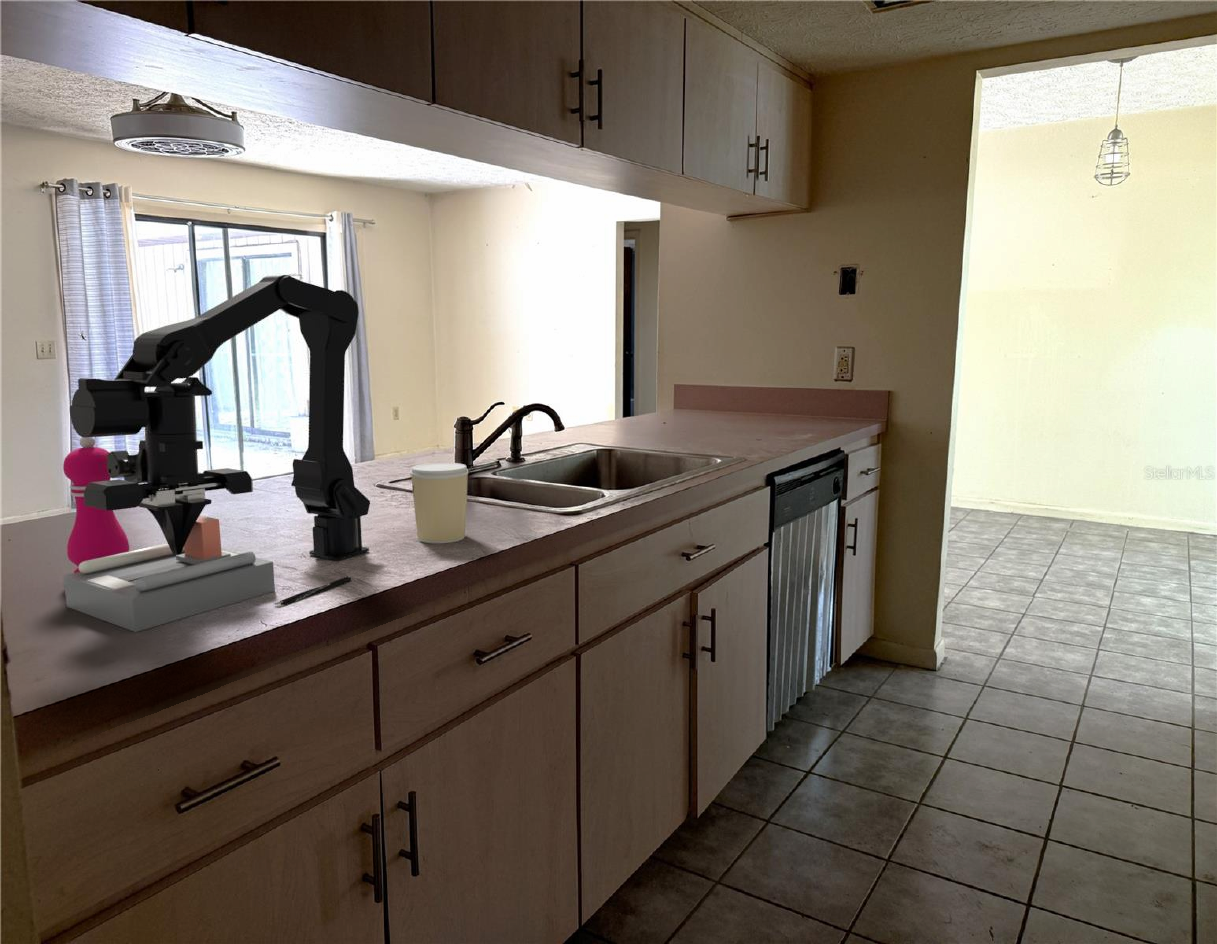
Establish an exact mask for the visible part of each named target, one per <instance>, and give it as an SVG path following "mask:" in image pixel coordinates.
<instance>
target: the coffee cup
mask: <svg viewBox="0 0 1217 944" xmlns="http://www.w3.org/2000/svg"><path fill="white" fill-rule="evenodd" d="M409 472H410V477H411V485H412V486H411V487H412V497H413V498H412V499H413V506H414V507H413V508H414V516H415V525H416V526H415V527H416V533H417V534H416V535H417V539H418V541H419V542H423V543H426V544H427V543H428V544H450V543H455V542H458V541H461V540H463V539H464V538H465V536H466V528H467V527H466V525H467V506H468V505H467V499H468V497H467V496H468V475H469V469H468V468H467V465H466V464H465V463H464V464H463V463H459V462H429V463H420V464H417V465H414V466H412V467H411V470H410V471H409Z"/></svg>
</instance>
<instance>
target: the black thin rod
mask: <svg viewBox="0 0 1217 944" xmlns="http://www.w3.org/2000/svg"><path fill="white" fill-rule="evenodd" d="M351 582H352V577H351V576H350V577H349V576H345V577H342V578H340V579H337V580H333V581H331V582H329V583H326V584H324V585H321V586H317V587H314V588H310V589H307V590H305V591H302V592H299V593H297V594H293V595H291V596H289V597H286V598H284V599H280V600H279V601H278V602H274V605H275V608H281V607H283V606H288V605H291V604H292V603H296V602H297V601H300V600H303V599H306V598H309V597H312V596H315V595H318V594H321V593H324V592H327V591H329V590H332V589H334V588H336V587H339V586H342V585H345V584H348V583H351Z"/></svg>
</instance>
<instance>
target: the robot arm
mask: <svg viewBox="0 0 1217 944" xmlns="http://www.w3.org/2000/svg"><path fill="white" fill-rule="evenodd" d="M279 310H280V311H282V312H284V313H285V314H287V315H289V316H291V317H294V318H296V319H298V323H299V324H298V325H299V330H300V334H301V335H302V337H303V339H304V342H305V344H306V345H307V347H308V349H309V381H308V382H309V389H308V390H309V391H308V392H309V395H308V440H307V441H308V443H307V444H308V445H307V449H306V451H305V452H304V454H303V456H302V458H301V459H300V458H299V459H297V458H294V459H293V461H292V472H293V478H292V481H291V484H290V486H291V487H294V490H295V495H296V497H297V499H299V501H301V502H302V503H303V506H304V508H305V511H306V513H307V514H309V515H311V514H312V515H314V516H313V523H314V526H312V542H313V543H312V544H313V549H312V550H309V555H312V556H316V557H321V558H323V559H328V560H329V559H330V560H334V561H337V560H338V561H339V560H341V559H346V558H349V557H352V556H357V555H360V554H364V553H367V552H370V548H369V547H366V546H363V543H362V542H363V541H362V523H361V522H362V521H361V517H364V516H367V515H369V514H368V513H369V509H370V505H371V500H369V498H368V497H367V496H365V495H364V494H363V493H362V492H361V491H360V490H359V489H358V488H357V487H356V486H355V479H354V470H353V469H354V468H353V467H352V464H351V462H350V460H349V458H348V456H347V454H346V452H345V449H344V428H345V427H344V422H345V421H344V419H345V417H344V415H345V412H344V411H345V378H346V377H345V376H346V375H345V374H346V373H345V367H346V366H345V365H346V352H347V350H348V348H349V346H350V344H351V343H352V341H353V339H354V338H355V336H356V332H357V327H358V325H357V324H358V321H359V313H360V312H359V311H360V310H359V304H358V302H357V300H355V298H354V297H353V295H351V294H350V293H349V292H348V291H346V290H342V289H340V290H339V289H337V290H333V289H329V288H326V287H323V286H319V285H317V284H316V285H315V284H312V283H309V282H305V281H303V280H300V279H298V278H295V277H294V276H291V275H289V274H277V275H266V276H264V277H262V279H261V280H260V281H258V282H257V283H255V284H253V285H252V286H251V285H250V287H247V288H246V289H244V290H243V291H241V292H239V293H236V294H235V295H234V296H232V297H230V298H228V299H226V300H225V301H223V302H221V303H219V304H217V305H216V306H213V307H212V308H210V309H208V310H206V311H205V312H203V313H201V314H200V315H198V316H196V317H194V318H190V319H188V320H184V321H179V322H175V323H171V324H169V325H168V324H167V325H163V326H161V327H158V328H155V329H152V330H148V331H145V332H144V333H141V334H140V335H139V336H137V337H136V339H135V340H134V341H133V347H132V354H131V356H130V357H129V358H128V359H127V361H126V363H125V364H124V366H123V367H122V368H121V370H120V371H119V372H118V374H117V375H116V376H115V378H114V379H102V378H91V377H79V378H78V379H77V384H78V385H77V387H78V388H77V389H76V391H74V394H73V396H72V400H71V405H70V406H69V415H70V421H71V424H72V426H73V430H74V431H75V432H76V434H77V435H78V436H80V437H81V438H82V437H83V438H87V437H93V438H97V437H98V438H100V437H116V436H117V437H118V436H135V435H137V434H139V433H140V432H141V430H142V429H143V428H144V439H140V440H139V443H138V452H137V454H136V453H135V454H130V453H129V452H128V451H127V450H124V449H123V450H116V451H114V450H112V451H109V452H110V453H108V454H107V469H108V473H109V476H110V477H111V479H110V480H108V481H98V482H90V483H89V484H88V486H87V487H86V489H85V491H84V504H85V506H90V507H94V508H98V509H103V510H113V511H117V510H126V509H135V508H137V507H138V508H143V509H147V511H148V512H149V513H150V514H152V516H153V518H154V519H155V521H156V522H157V524H158V526H159V527H160V529H161V531H162V533H163V536H164V538H165V541H166V542H167V543H168V545H169V547H170V549H171V551H172V553H173V554H174V555H180V554H181V552H182V550H183V548H184V545H185V543H186V541H187V539H188V537H189V534H190V532H191V530H192V528H193V526H194V524H195V522H196V521H197V519H198V517H199V516H200V515H201V513H202V512H203V510H204V509H205V507H206V506H207V505H211V504H212V499H209V498H206V492H208V491H217V490H222V489H223V490H226V491H227V492H229V493H230V494H231V495H240V494H241V495H242V494H247V493H253V492H254V489H253V486H254V485H253V484H254V483H253V478H252V476H251V475H250V473H249V472H248V471H247V470H241V469H235V468H234V469H233V468H228V467H227V468H217V469H208V470H203V472H199V460H198V450H203V449H204V441H203V440H198V439H197V433H198V432H197V417H196V416H197V411H196V397H203V396H204V397H206V396H207V397H208V396H212V394H213V391H212V389H210V388H209V387H207V385H204V383H202V381H200V379H199V377H196V376H194V375H195V374H196V373H197V372H199V371H200V370H201V369H202V368H203V367H204V366H206V364H208V363H209V362H210V361H211V360H212V359H213V357H214V356H215V353H217V351H218V349H219V348H220V347H221V346H222V345H223V344H224V343H226V342H227V341H229V340H231V339H233V338H234V337H236V336H238V335H240V334H241V333H243V332H244V331H246V330H247V329H249V328H251V327H253V326H254V325H257V324H258V323H260V322H261V321H263V320H265V319H266V318H268V317H270V316H271V315H273V314H274V313H276V312H277V311H279ZM177 379H179V380H180V379H184V380H182V382H174V381H176V380H177ZM146 388H154V390H150V391H146ZM120 478H121V479H120ZM122 478H123V479H122ZM167 543H166V544H167Z"/></svg>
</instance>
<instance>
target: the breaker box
mask: <svg viewBox="0 0 1217 944" xmlns="http://www.w3.org/2000/svg"><path fill="white" fill-rule="evenodd" d="M221 552H225V553H229V554H231V556H230V557H225V558H221V559H217V560H213V561H209V562H205V563H201V564H197V565H193V564H189V563H186V562H182V561H178V560H176V555H174V554H173V553H172V551H171V549H170V547H169V545H168V543H164V544H159V545H153V546H148V547H145V548H140V549H135V550H134V549H133V550H131V551H130V550H129V552H125V553H120V554H116V555H111V556H106V557H101V558H97V559H92V560H87V561H83V562H82V563H80V565H79V571H80V572H77V573H74V572H73V573H69V574H65V575H63V584H64V593H65V594H64V595H65V602H66V607H67V608H70V609H72V610H75V611H77V612H80V613H83V614H86V615H88V616H91V617H94V618H96V619H99V620H102V621H105V622H108V623H110V624H113V625H115V626H117V627H118V626H119V627H121V628H123V629H126V630H128V631H131V632H135V633H137V632H141V631H145V630H147V629H151V628H154V627H158V626H160V625H164V624H167V623H168V624H169V623H171V622H174V621H179V620H181V619H184V618H189V617H191V616H195V615H197V614H202V613H204V612H209V611H211V610H216V609H219V608H222V607H225V606H229V605H232V604H235V603H238V602H239V603H240V602H242V601H246V600H248V599H252V598H256V597H259V596H262V595H266V594H269V593H273V592H275V591H276V588H275V570H274V561H273V560H267V559H263V558H259V557H256V555H255V553H254V552H253V551H247V552H242V553H239V552H235V551H230V550H226V549H223V548H221ZM181 554H185V548H183V550H182V552H181Z"/></svg>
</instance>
